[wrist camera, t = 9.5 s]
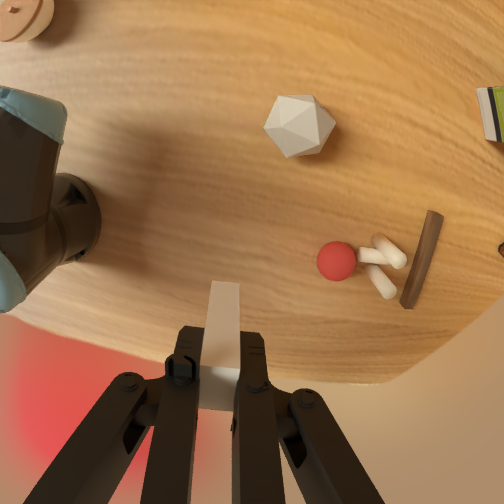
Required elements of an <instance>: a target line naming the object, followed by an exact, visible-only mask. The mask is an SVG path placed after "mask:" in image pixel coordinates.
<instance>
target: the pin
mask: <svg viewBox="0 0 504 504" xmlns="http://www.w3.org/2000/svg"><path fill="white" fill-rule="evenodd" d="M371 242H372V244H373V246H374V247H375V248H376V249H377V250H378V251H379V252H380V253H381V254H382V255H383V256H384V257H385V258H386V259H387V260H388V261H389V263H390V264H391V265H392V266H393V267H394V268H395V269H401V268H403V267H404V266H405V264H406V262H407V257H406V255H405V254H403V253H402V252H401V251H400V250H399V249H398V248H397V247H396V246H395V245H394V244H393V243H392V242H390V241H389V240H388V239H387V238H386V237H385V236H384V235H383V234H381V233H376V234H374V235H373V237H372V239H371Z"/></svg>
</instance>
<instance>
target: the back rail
mask: <svg viewBox="0 0 504 504" xmlns="http://www.w3.org/2000/svg"><path fill="white" fill-rule="evenodd" d="M443 218H444V216H442V215H441V214H439V213H437V212H434V211H429V210H428V212H427V216H426V220H425V223H424V227H423V231H422V234H421V238H420V241H419V245H418V248H417V251H416V255H415V258H414V261H413V264H412V267H411V270H410V273H409V276H408V279H407V282H406V285H405V288H404V291H403V294H402V296H401V299H400V303H401V305H402V306H403V307H404V309H414V306H415V304H416V301H417V299H418V296H419V293H420V291H421V288H422V285H423V282H424V280H425V277H426V274H427V271H428V268H429V265H430V262H431V259H432V256H433V253H434V250H435V246H436V243H437V240H438V236H439V233H440V229H441V226H442V222H443Z"/></svg>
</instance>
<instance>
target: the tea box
mask: <svg viewBox="0 0 504 504" xmlns="http://www.w3.org/2000/svg"><path fill="white" fill-rule="evenodd" d="M476 92H477V97H478V102H479V107H480V112H481V117H482V123H483V129H484V134H485V139H486V140H490V141H495V142H501V143H504V87H488V88H476Z"/></svg>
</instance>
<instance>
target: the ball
mask: <svg viewBox="0 0 504 504" xmlns="http://www.w3.org/2000/svg"><path fill="white" fill-rule="evenodd" d="M317 266H318V269H319V271H320V273H321V274H322V275H323V276H324V277H325V278H327V279H328V280H331V281H342V280H344V279H346V278H348V277H349V276H350V275H351V274H352V273H353V271H354V269H355V266H356V257H355V254H354V252H353V250H352V249H351V248H350V247H349V246H348V245H347V244H345V243H342V242H331V243H328V244H326V245H325V246H324V247H323V248H322V249H321V250H320V252H319V254H318V257H317Z"/></svg>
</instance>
